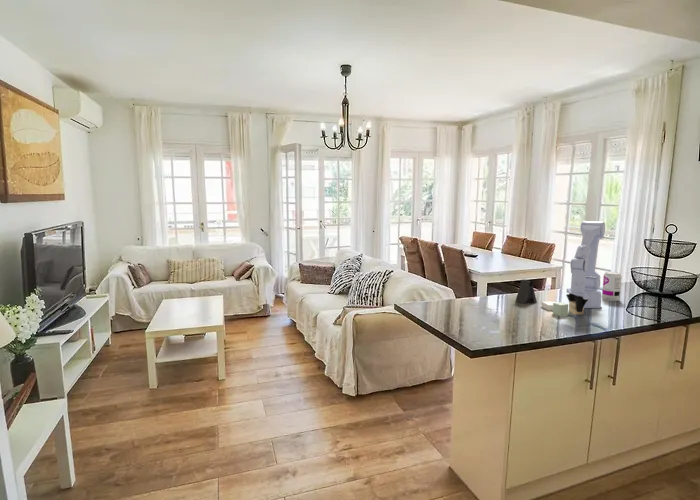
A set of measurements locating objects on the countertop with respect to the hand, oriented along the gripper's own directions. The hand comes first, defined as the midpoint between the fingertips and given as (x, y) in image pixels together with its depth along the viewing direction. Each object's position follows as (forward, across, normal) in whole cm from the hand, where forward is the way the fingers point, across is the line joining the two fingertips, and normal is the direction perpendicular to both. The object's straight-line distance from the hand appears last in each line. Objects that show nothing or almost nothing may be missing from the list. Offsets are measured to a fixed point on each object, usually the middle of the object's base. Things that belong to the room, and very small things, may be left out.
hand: (576, 310), depth 190 cm
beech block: (+1, 0, 0) cm, 1 cm away
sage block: (+2, +2, -9) cm, 9 cm away
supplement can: (+2, -25, +35) cm, 43 cm away
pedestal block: (+2, -9, -7) cm, 12 cm away
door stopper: (+2, -22, -14) cm, 26 cm away
